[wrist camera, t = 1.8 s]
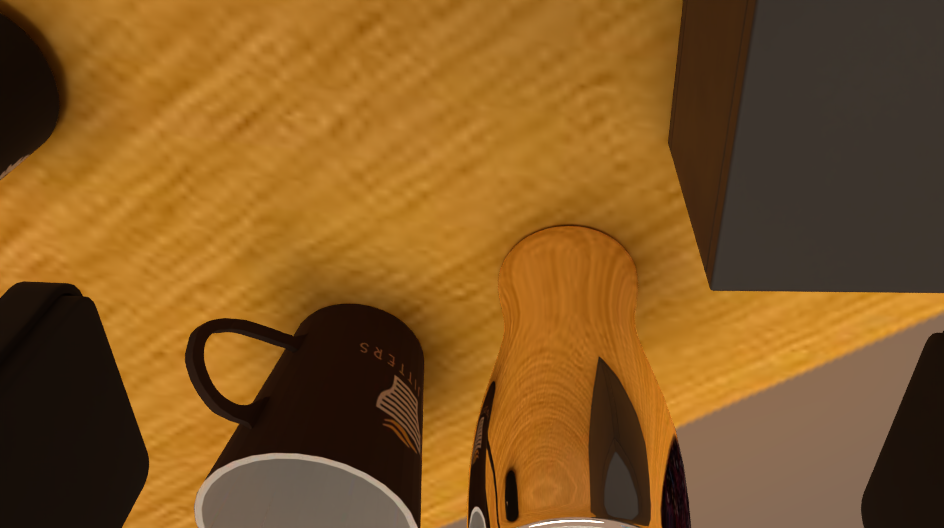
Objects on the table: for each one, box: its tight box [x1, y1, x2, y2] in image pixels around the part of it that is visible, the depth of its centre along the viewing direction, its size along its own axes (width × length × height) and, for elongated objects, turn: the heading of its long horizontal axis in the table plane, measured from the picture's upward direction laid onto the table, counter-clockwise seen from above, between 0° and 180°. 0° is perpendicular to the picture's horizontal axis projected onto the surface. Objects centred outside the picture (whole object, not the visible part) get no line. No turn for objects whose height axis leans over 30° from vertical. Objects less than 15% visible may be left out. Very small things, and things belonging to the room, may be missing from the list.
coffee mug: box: [185, 304, 424, 528], centre depth 33 cm, size 12×9×10 cm
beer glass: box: [467, 226, 691, 528], centre depth 29 cm, size 7×7×15 cm
